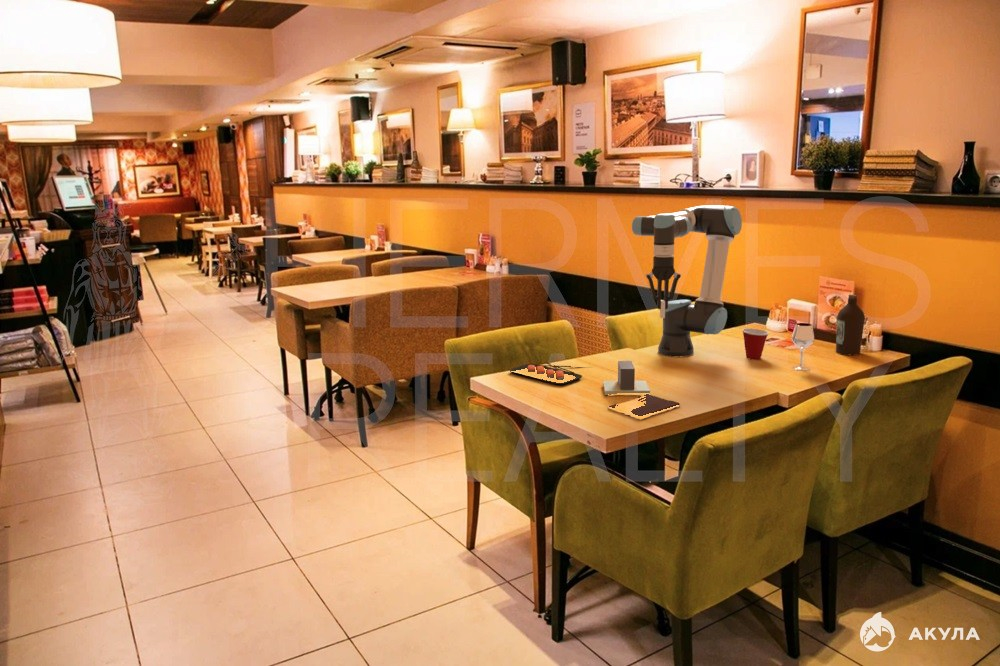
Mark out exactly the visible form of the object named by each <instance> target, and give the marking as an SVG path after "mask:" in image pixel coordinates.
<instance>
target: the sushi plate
mask: <svg viewBox="0 0 1000 666" xmlns="http://www.w3.org/2000/svg"><path fill="white" fill-rule="evenodd" d="M545 364H548V365H545ZM545 364H544V365H543V364H536V363H527V364H524V365H520V366H517V367H514V368H511V369H510V370H509V372H510V373H512V372H511V371H516V370H521V369H525V368H527V369H528V372H535V367H536V370H537V374H544V373H545V370H544V368H545V369H547V370H546V374H547V377H548V378H549V377H550V378H554V374H555V373H556V379H557V380H563V379H564V374H568V375H573V376H575V377H576V378H575V379H573V380H570V381H567V382H564V383H557V384H556V385H565V384H569V383H572V382H574V381H577V380H580V379H582V378H583V375H582V374H579V373H575V372H574V371H571V370H568V369H567V368H572V367H571V366H572V365H555V364H553V365H554V366H551V365H549V364H551V363H550V362H545ZM557 367H558V368H557ZM554 371H555V373H554ZM542 380H543V379H542ZM542 380H541V381H542ZM546 381H547V380H546ZM546 381H545V382H546ZM550 382H551V381H549V382H548V383H550ZM554 383H556V382H553V383H552V384H554Z"/></svg>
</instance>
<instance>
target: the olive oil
mask: <svg viewBox="0 0 1000 666" xmlns="http://www.w3.org/2000/svg"><path fill="white" fill-rule="evenodd" d="M857 303H858V295H856V294H848V298H847V303H846V305H844V306H843V307H842V308H841V309H840V310H839V311H838V313H837V316H836V334H835V335H836V337H835V338H836V339H835V340H836V341H835V343H836V344H835V352H836V353H837V354H839V353H840V355H843V354H851V355H850V356H854V355H853V354H858V355H860V354H861V350H862V349H861V348H862V340H863V333H864V328H865V321H866V316H865V313H864V311H863V310H862V309H861V307H860V306H859V305H858V304H857ZM859 353H860V354H859Z"/></svg>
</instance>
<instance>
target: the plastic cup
mask: <svg viewBox="0 0 1000 666" xmlns="http://www.w3.org/2000/svg"><path fill="white" fill-rule="evenodd" d="M741 331H742V333H743V342H744V343H743V344H744V350H745V356H746V359H748V360H752V359H753V360H754V361H755V360H757V361H758V360H761V359H762V355H763V352H764V348H765V344H766V340H767V337H768V335H769V334H770V332H769V331H767V330H763V329H760V328H752V327H751V328H749V327H748V328H747V327H746V328H742V329H741Z"/></svg>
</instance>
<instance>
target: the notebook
mask: <svg viewBox="0 0 1000 666" xmlns="http://www.w3.org/2000/svg"><path fill="white" fill-rule="evenodd" d="M644 396H646V397H644V398H646V399H645V400H643V401H646V404H645V403H644V405H645V406H641V407H639V408H636V409H633V410H632V411H631V412H632V413H633V414H635V415H638V416H643V415H646V414H649V413H654V412H657V411H661V410H663V409H667V408H670V407H673V406H676V405H680V406H681V404H680V402H677V401H674V400H669V399H666V398H665V399H664V398H662V397H659V396H655V395H652V394H650V395H649V394H646V395H644ZM637 397H638V398H640V397H641V396H640V397H639V396H637ZM644 398H641V399H639V400H638V401H640V400H642V399H644ZM643 401H641V402H643ZM616 404H617V403H614V404H611V405H608V406H609V407H612V408H615V406H616ZM617 406H618V405H617Z"/></svg>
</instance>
